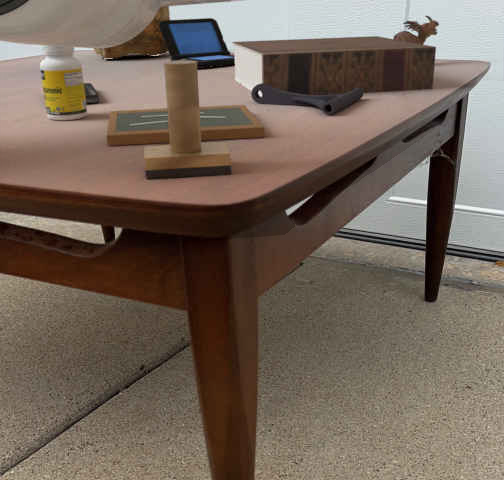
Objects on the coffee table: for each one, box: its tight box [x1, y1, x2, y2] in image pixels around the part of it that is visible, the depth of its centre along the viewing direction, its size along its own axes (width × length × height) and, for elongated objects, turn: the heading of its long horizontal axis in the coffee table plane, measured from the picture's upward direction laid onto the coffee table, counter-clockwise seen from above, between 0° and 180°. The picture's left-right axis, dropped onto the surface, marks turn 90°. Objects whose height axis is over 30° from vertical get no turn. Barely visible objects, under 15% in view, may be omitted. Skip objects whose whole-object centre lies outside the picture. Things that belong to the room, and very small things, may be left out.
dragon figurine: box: [392, 15, 440, 45], centre depth 138 cm, size 14×6×9 cm, turn 136°
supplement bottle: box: [39, 45, 88, 121], centre depth 93 cm, size 5×5×10 cm
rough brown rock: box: [93, 6, 171, 59], centre depth 163 cm, size 23×17×15 cm
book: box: [231, 35, 437, 97], centre depth 118 cm, size 24×28×6 cm
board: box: [106, 104, 266, 147], centre depth 86 cm, size 18×16×1 cm
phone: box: [84, 82, 100, 104], centre depth 110 cm, size 8×1×15 cm
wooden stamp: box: [143, 60, 232, 180], centre depth 65 cm, size 8×5×10 cm, turn 99°
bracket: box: [250, 83, 364, 116], centre depth 99 cm, size 14×15×3 cm
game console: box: [159, 17, 235, 69], centre depth 148 cm, size 16×14×9 cm
